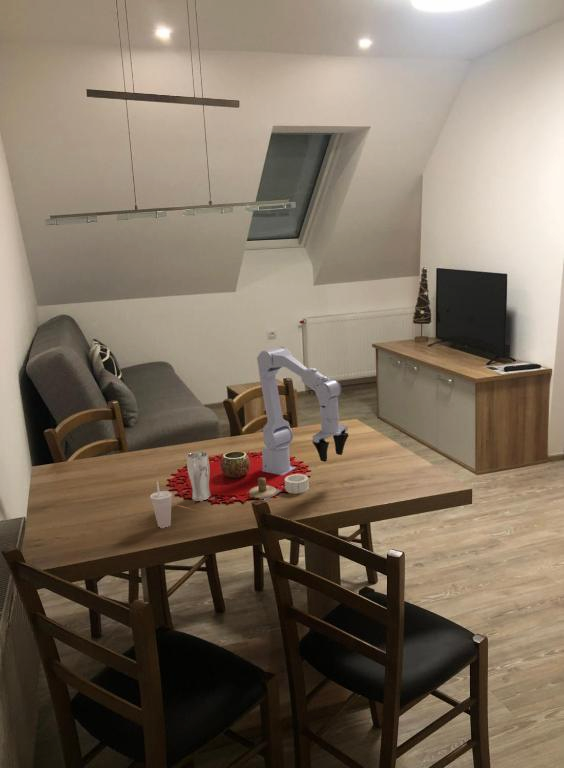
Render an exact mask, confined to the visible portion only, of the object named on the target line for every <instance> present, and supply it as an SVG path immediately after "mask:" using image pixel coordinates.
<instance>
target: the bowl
mask: <svg viewBox="0 0 564 768" xmlns="http://www.w3.org/2000/svg"><path fill="white" fill-rule="evenodd" d="M309 489H310V487H309V477H308V476H307V475H306V474H303V473H298V474H297V473H295V474H289V475H287V476H285V478H284V490H285V492H287V493H289V494H296V495H297V494H303V493H305V492H308V491H309Z"/></svg>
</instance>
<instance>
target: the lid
mask: <svg viewBox="0 0 564 768" xmlns="http://www.w3.org/2000/svg"><path fill="white" fill-rule="evenodd" d="M248 492H249V493H250V495H251V496H252V497H255V498H254V499H256V498H267V497H271V496H272V497H273V495H274V494H275V493H276V487H274V486H271V485H267V479H266V477H258V478H257V486H254V487H252V488H250V489H249V491H248ZM274 496H275V495H274ZM252 497H251V498H252ZM272 497H271V498H272Z"/></svg>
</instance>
